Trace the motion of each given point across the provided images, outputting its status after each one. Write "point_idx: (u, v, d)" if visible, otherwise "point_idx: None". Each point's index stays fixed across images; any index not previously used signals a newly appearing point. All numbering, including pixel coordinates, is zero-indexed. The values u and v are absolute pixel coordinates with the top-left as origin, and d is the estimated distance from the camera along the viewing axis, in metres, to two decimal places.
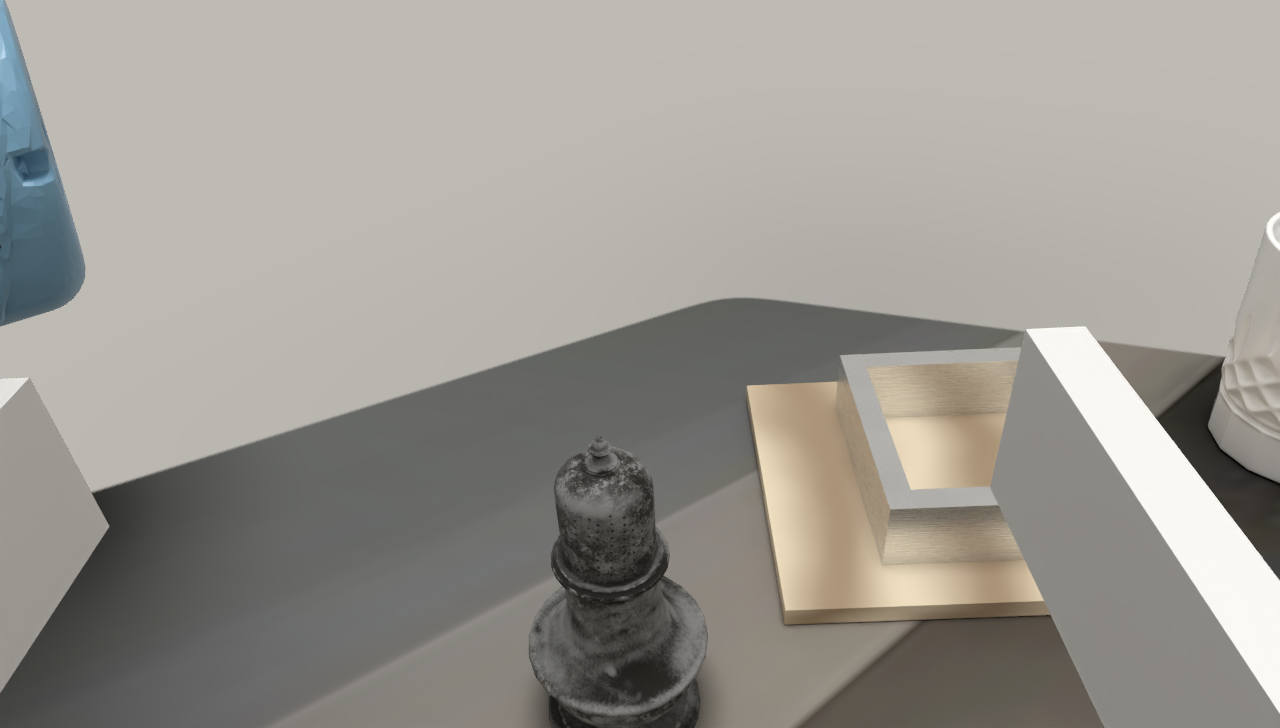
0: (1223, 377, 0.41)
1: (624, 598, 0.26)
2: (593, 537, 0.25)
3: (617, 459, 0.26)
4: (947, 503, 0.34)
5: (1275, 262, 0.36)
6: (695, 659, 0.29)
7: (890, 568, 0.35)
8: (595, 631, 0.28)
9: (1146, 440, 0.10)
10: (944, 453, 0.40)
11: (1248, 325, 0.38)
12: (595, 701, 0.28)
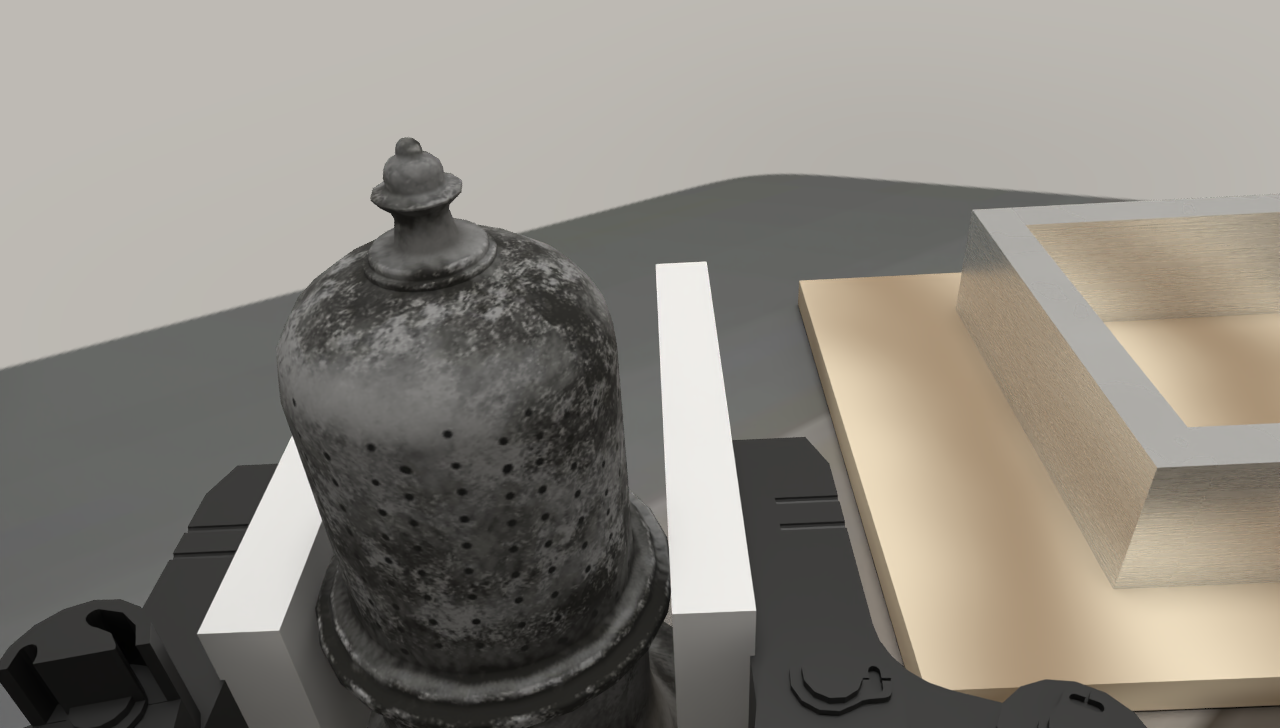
0: None
1: (526, 719, 0.08)
2: (399, 514, 0.07)
3: (488, 241, 0.07)
4: None
5: None
6: None
7: (1134, 596, 0.17)
8: None
9: (697, 346, 0.12)
10: (1173, 379, 0.22)
11: None
12: None
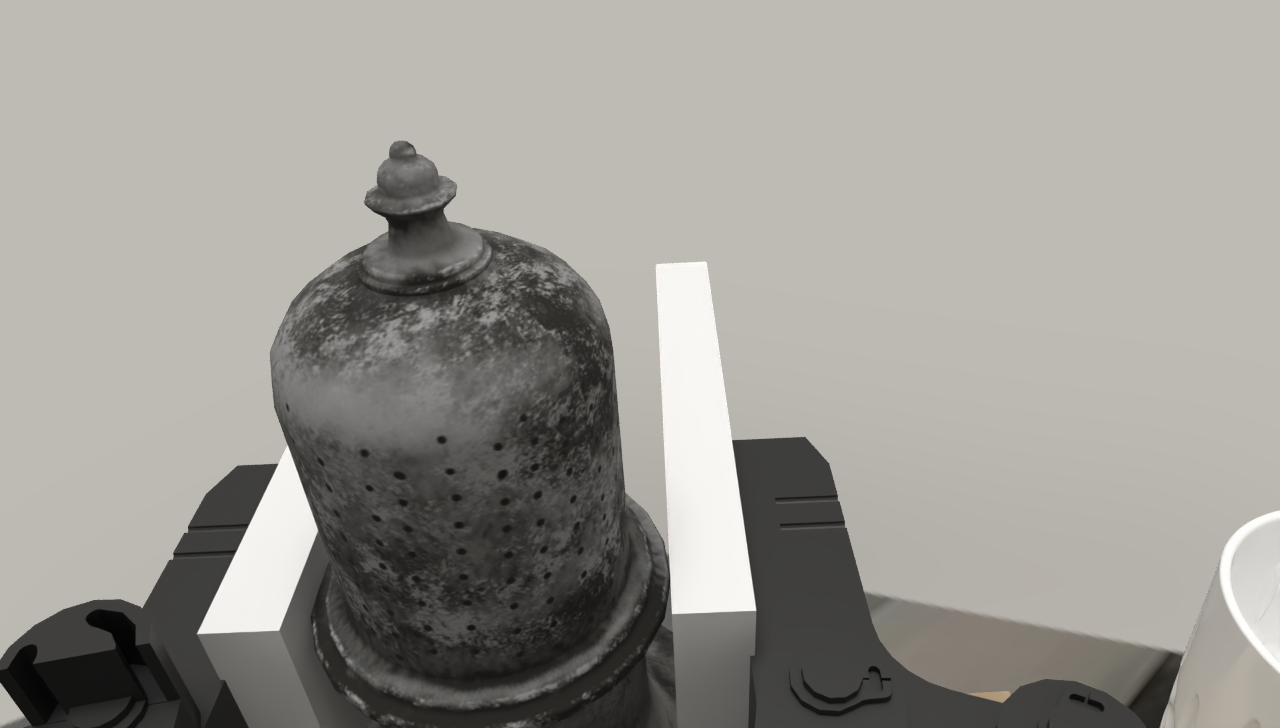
0: None
1: (521, 725, 0.08)
2: (392, 520, 0.07)
3: (483, 245, 0.07)
4: None
5: (1235, 644, 0.22)
6: None
7: None
8: None
9: (697, 346, 0.12)
10: None
11: (1195, 708, 0.24)
12: None
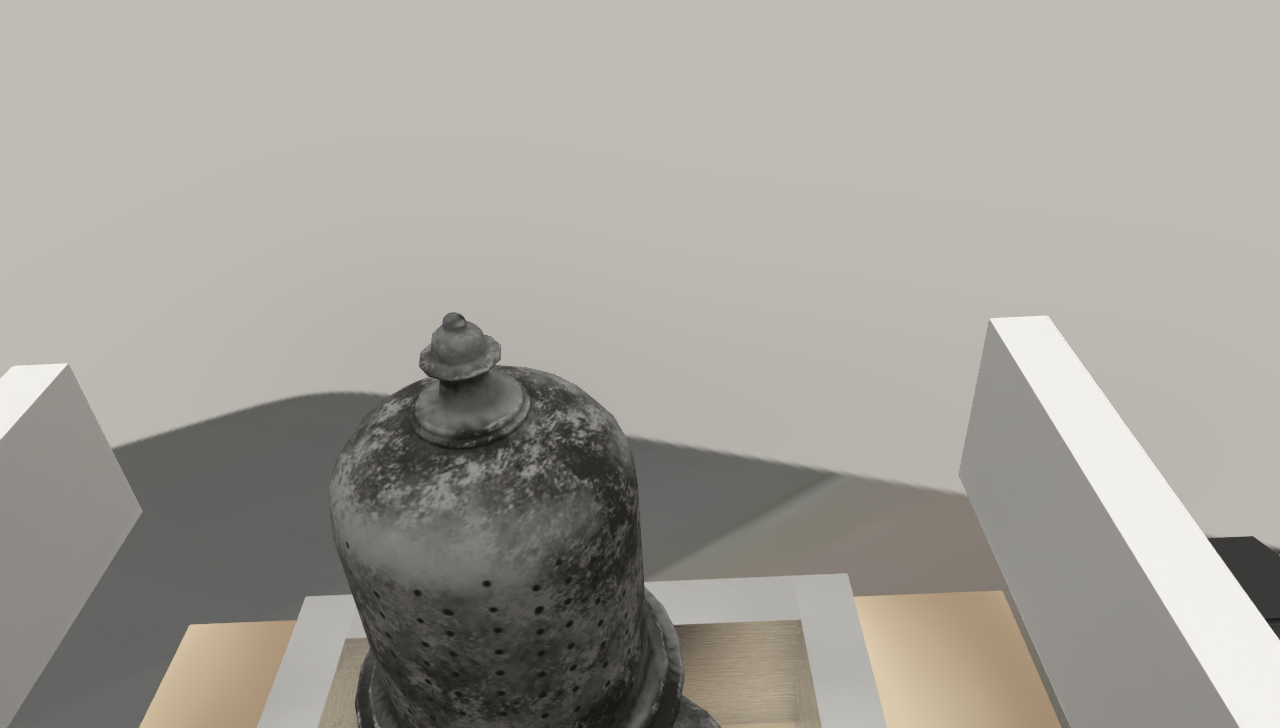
0: None
1: None
2: (439, 645, 0.08)
3: (523, 394, 0.08)
4: None
5: None
6: None
7: None
8: None
9: (1100, 424, 0.10)
10: None
11: None
12: None
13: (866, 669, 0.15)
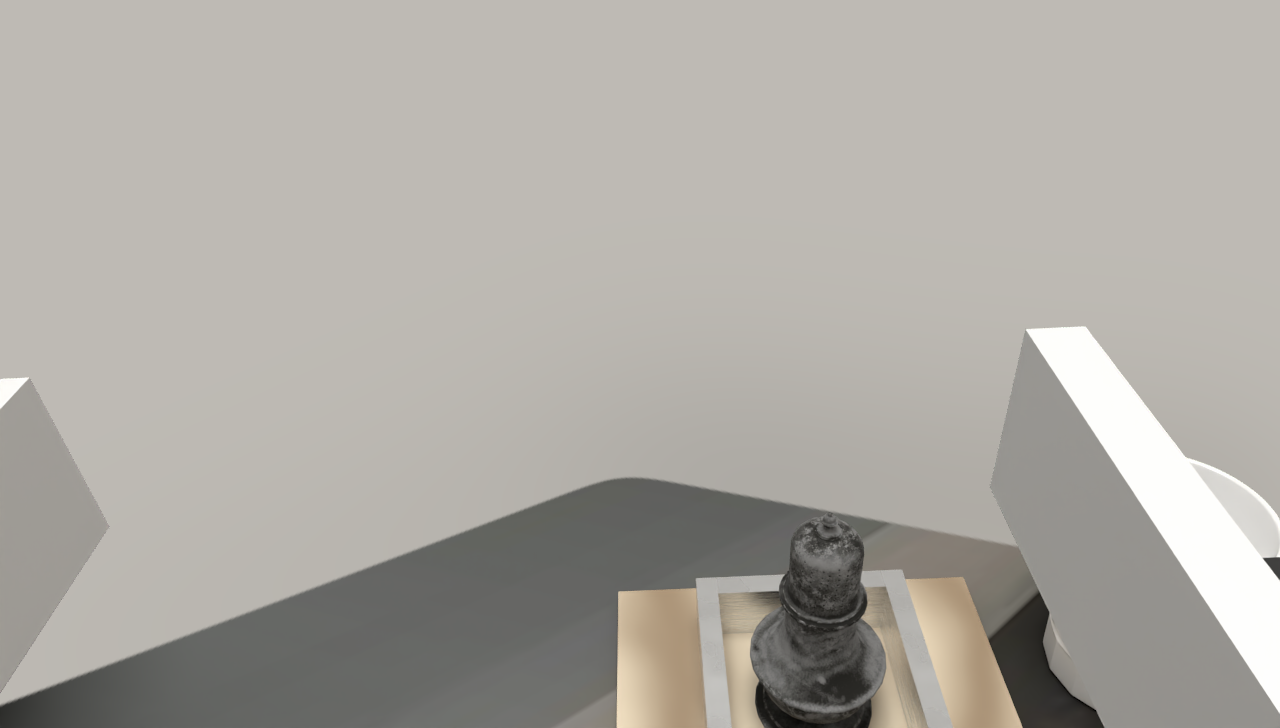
0: None
1: (840, 627, 0.36)
2: (824, 584, 0.35)
3: (839, 527, 0.36)
4: None
5: None
6: (880, 671, 0.39)
7: None
8: (812, 650, 0.38)
9: (1145, 440, 0.10)
10: None
11: None
12: (811, 701, 0.38)
13: (910, 603, 0.42)
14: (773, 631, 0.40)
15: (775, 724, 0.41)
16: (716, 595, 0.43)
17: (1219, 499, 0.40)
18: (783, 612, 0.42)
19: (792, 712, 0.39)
